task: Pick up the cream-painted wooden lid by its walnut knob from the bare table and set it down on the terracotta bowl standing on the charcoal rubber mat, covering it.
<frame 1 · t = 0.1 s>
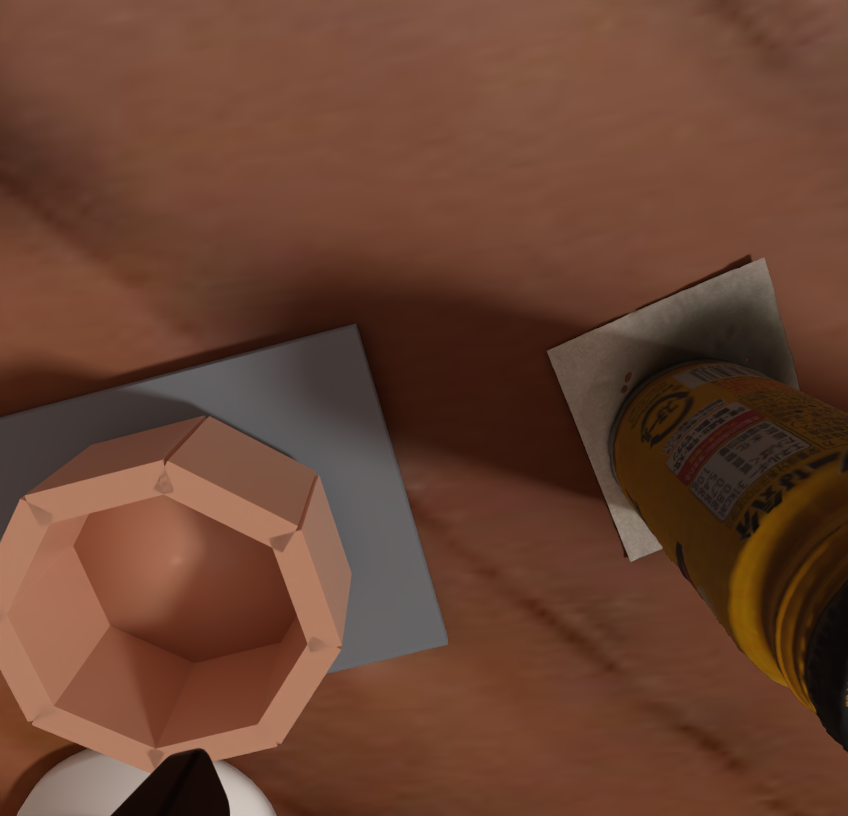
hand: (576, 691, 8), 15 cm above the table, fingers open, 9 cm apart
mat: (211, 539, 23), on the table
bowl: (206, 547, 23), resting on mat
condiment: (687, 415, 23), on the table
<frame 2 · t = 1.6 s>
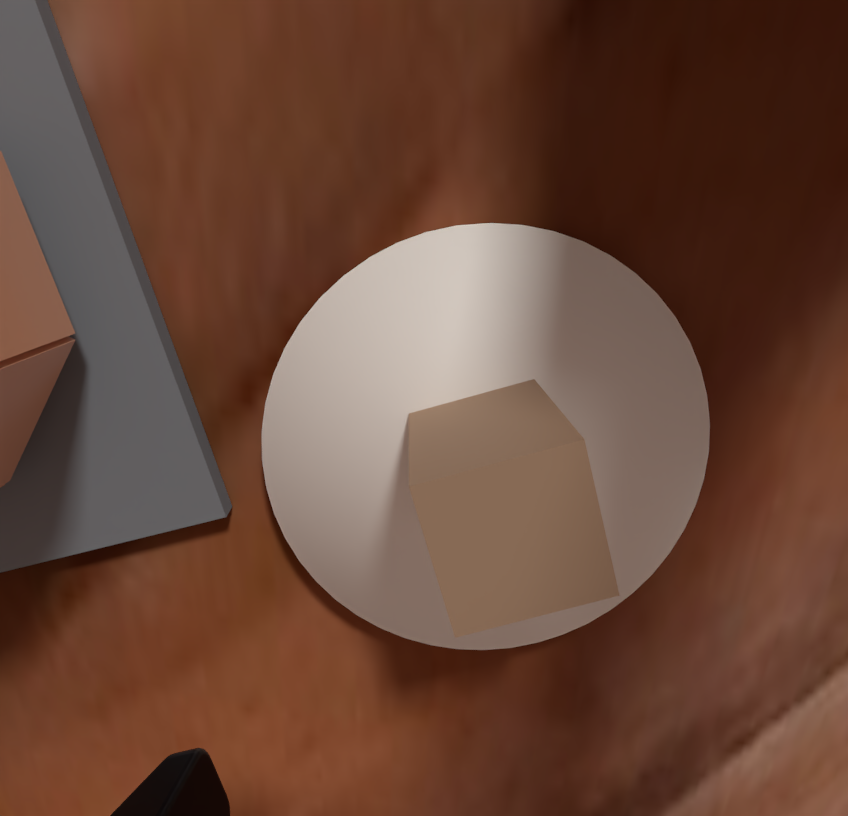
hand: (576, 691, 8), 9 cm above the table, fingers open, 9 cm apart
lid: (482, 442, 17), on the table
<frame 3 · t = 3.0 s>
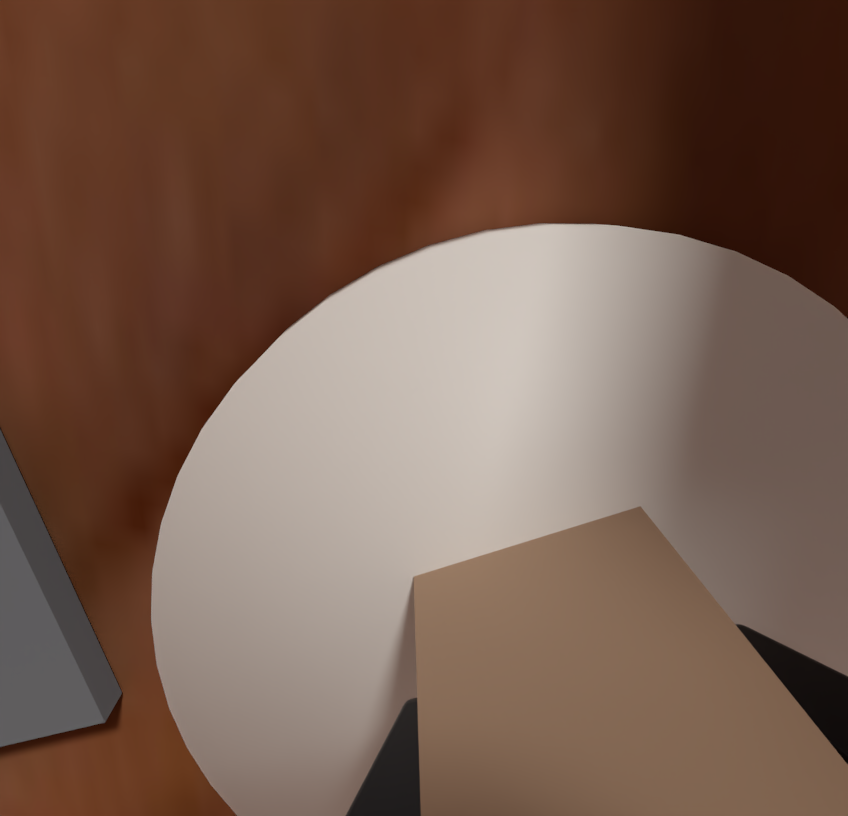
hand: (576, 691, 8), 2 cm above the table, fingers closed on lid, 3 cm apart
lid: (541, 595, 10), on the table, touching gripper
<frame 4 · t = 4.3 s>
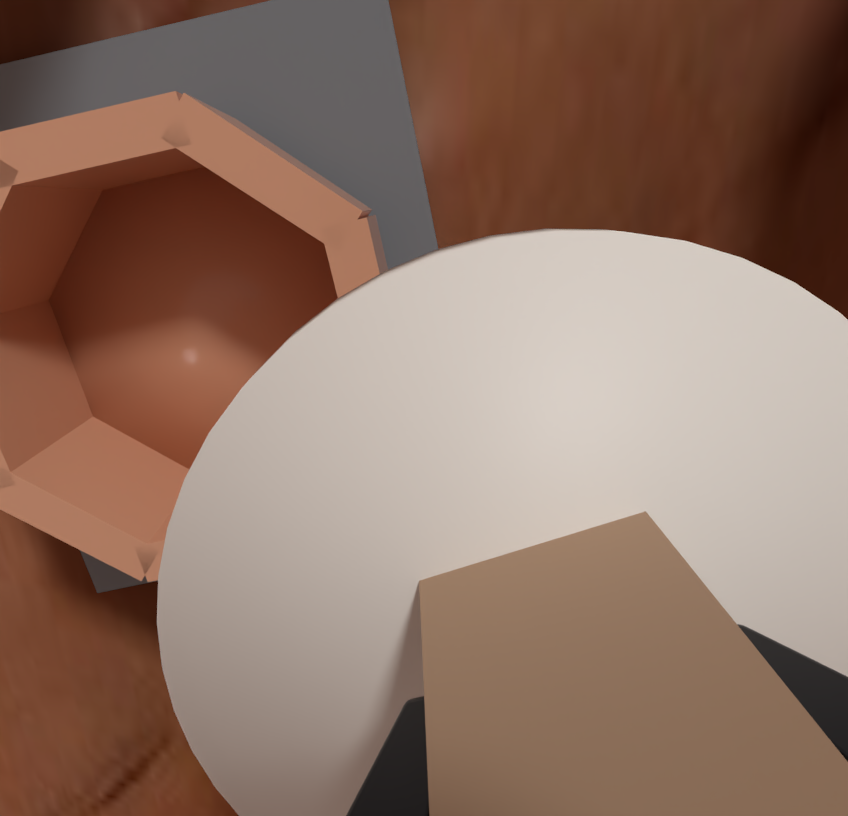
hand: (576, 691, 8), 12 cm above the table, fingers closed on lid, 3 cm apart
lid: (545, 599, 10), point 10 cm above the table, touching gripper
mat: (227, 319, 18), on the table
bowl: (221, 323, 18), resting on mat
when the fingers open (8 cm above the table, at t = 5.5 s): lid stays where it is, resting on bowl.
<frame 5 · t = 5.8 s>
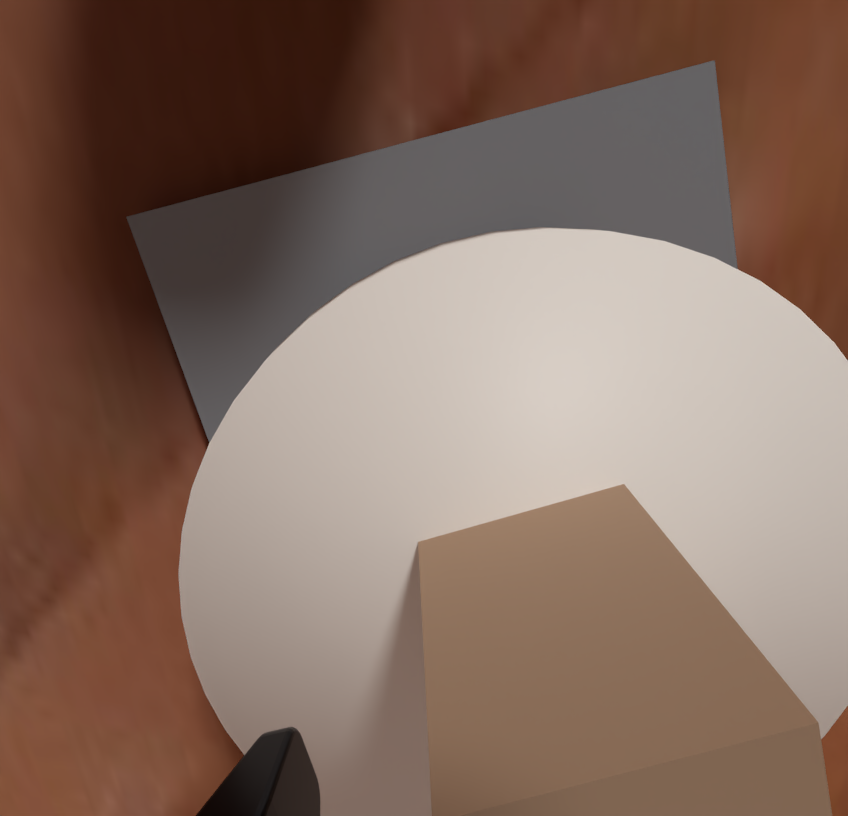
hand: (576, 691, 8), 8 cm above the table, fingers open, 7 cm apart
lid: (531, 566, 11), point 5 cm above the table, touching bowl
mat: (487, 451, 16), on the table
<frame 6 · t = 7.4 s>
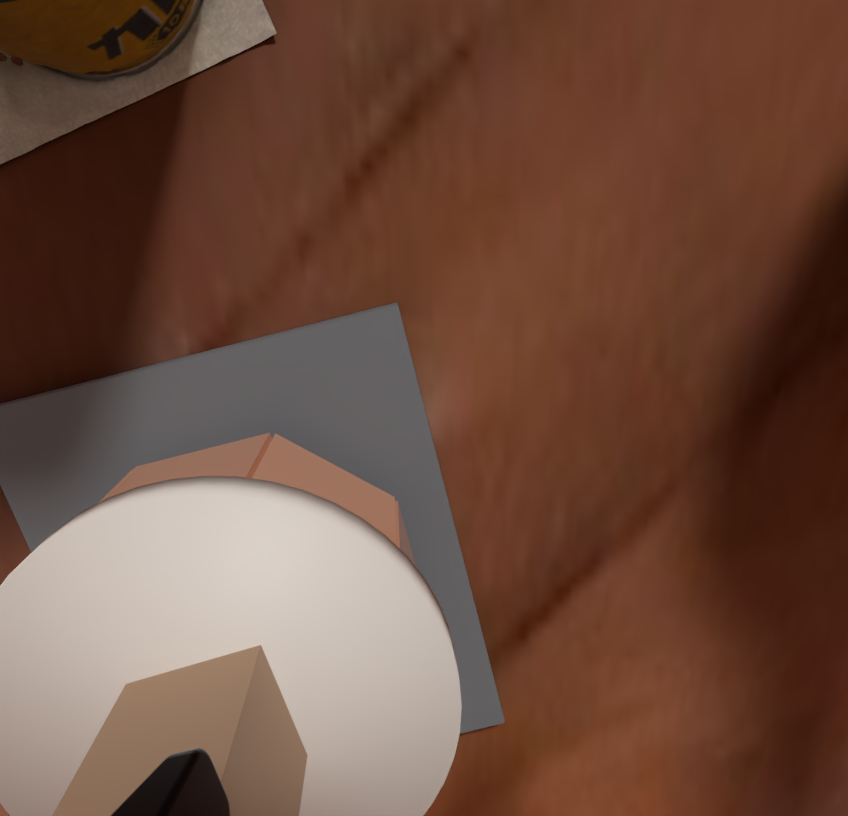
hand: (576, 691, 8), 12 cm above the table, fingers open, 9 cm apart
lid: (229, 689, 15), point 5 cm above the table, touching bowl
mat: (265, 572, 20), on the table
bowl: (261, 583, 20), resting on mat
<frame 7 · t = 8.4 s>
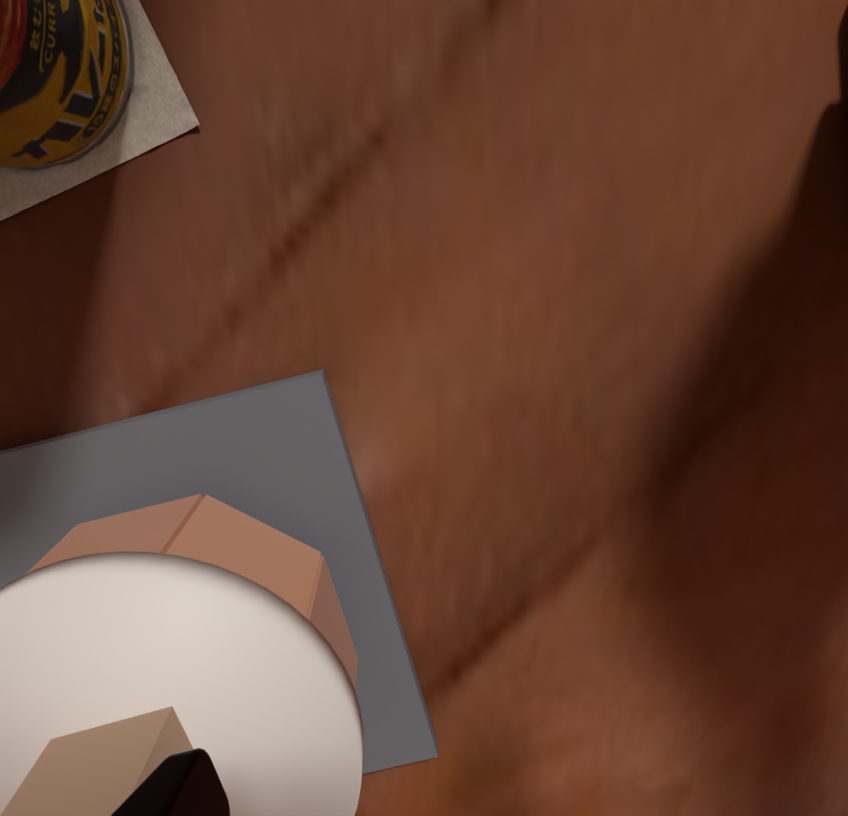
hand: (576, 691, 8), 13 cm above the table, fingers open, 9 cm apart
lid: (152, 739, 17), point 5 cm above the table, touching bowl
mat: (208, 616, 22), on the table
bowl: (202, 627, 21), resting on mat
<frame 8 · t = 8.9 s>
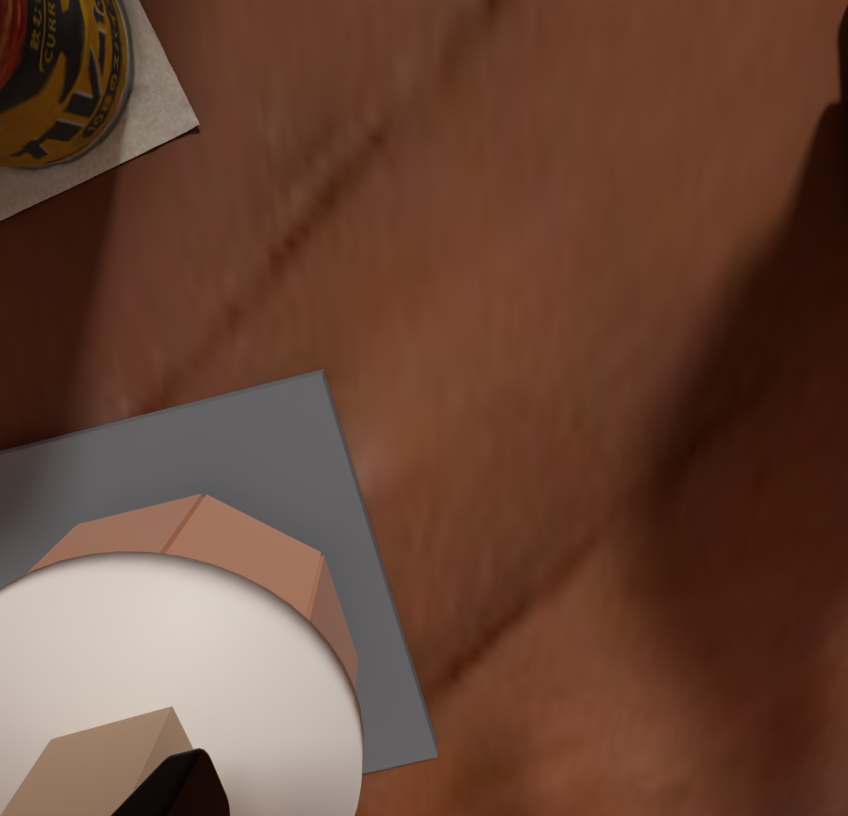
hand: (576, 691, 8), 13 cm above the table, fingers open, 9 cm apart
lid: (152, 739, 17), point 5 cm above the table, touching bowl
mat: (208, 616, 22), on the table
bowl: (202, 627, 21), resting on mat
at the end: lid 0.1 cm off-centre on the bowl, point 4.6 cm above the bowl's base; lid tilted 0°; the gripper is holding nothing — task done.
